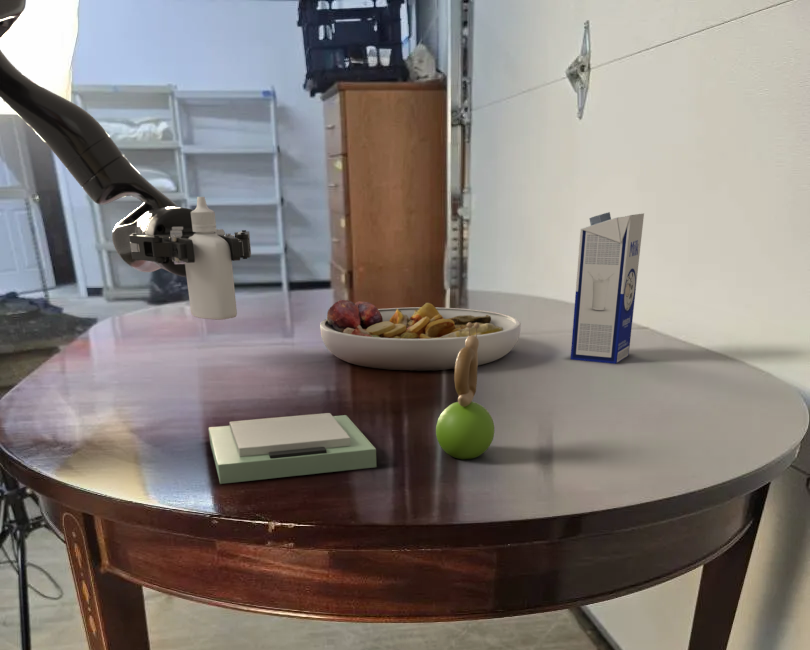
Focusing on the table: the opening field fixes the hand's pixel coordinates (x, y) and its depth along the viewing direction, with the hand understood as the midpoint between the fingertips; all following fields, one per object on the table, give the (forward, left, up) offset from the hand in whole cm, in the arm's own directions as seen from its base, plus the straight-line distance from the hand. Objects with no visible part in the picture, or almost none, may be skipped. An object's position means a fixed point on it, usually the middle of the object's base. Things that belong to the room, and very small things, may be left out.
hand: (213, 250), depth 79 cm
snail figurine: (+20, -21, -18) cm, 34 cm away
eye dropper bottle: (0, +3, -7) cm, 8 cm away
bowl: (+31, +27, -18) cm, 45 cm away
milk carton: (+55, +15, -18) cm, 60 cm away
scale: (+4, -16, -18) cm, 24 cm away
